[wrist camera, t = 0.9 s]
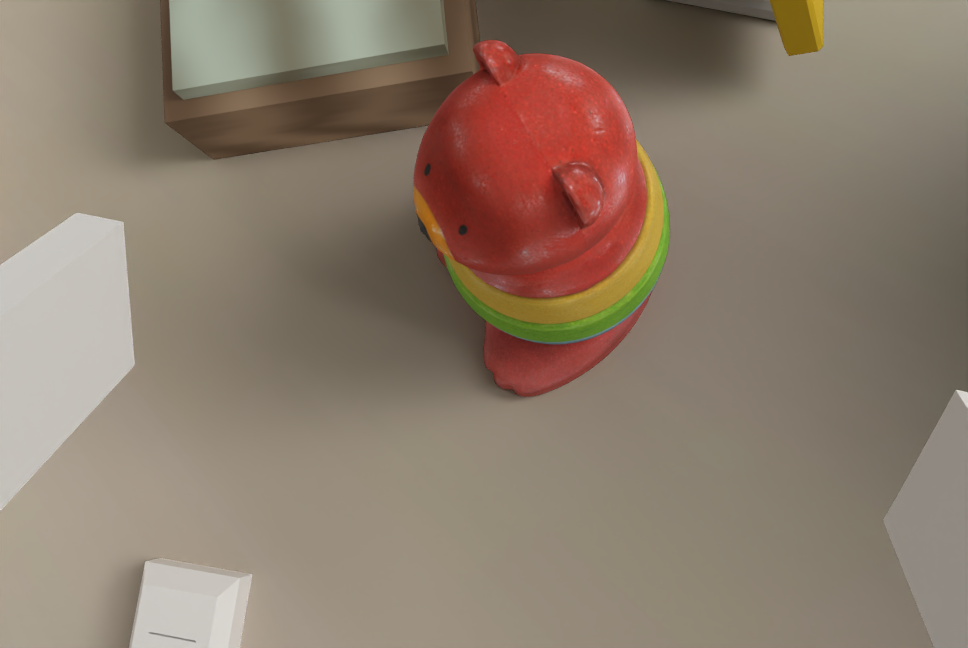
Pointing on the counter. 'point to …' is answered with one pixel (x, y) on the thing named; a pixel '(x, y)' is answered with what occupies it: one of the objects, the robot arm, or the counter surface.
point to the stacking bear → (542, 213)
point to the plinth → (309, 68)
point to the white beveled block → (189, 606)
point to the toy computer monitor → (780, 19)
